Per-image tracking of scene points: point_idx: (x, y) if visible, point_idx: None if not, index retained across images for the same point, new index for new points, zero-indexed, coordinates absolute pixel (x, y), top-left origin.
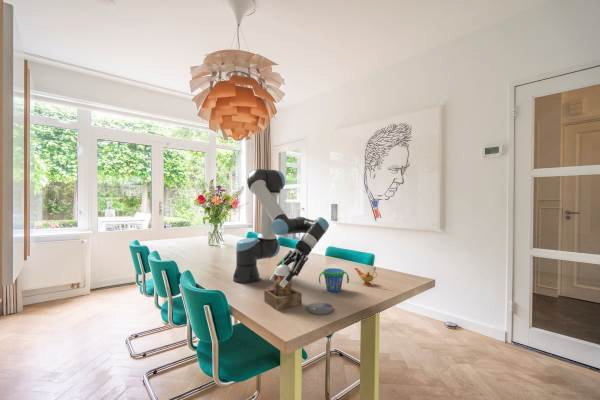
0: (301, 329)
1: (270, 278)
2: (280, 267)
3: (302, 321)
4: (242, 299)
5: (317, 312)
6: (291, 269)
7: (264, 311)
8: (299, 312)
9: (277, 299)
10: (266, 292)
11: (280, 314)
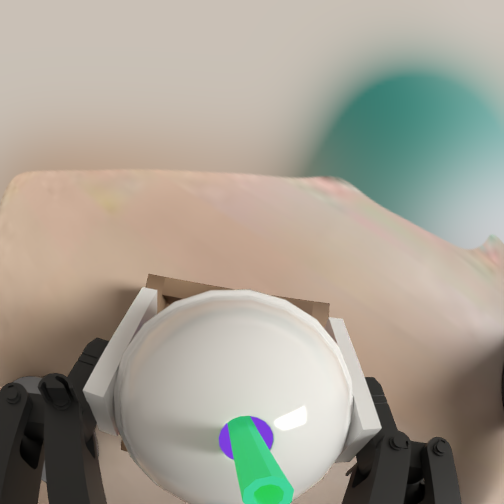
0: (4, 243)
1: (335, 322)
2: (203, 346)
3: (23, 289)
4: (382, 248)
5: (16, 380)
6: (68, 437)
7: (196, 239)
8: (75, 349)
9: (149, 276)
10: (297, 300)
11: (118, 271)
